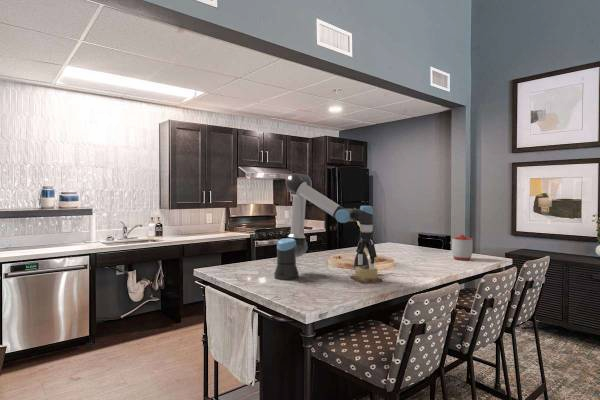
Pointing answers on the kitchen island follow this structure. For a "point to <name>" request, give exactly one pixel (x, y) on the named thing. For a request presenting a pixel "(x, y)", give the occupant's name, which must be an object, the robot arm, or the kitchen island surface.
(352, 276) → the post stand
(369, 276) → the brass collar
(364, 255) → the black tall oval piece
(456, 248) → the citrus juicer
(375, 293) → the kitchen island surface
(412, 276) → the kitchen island surface
